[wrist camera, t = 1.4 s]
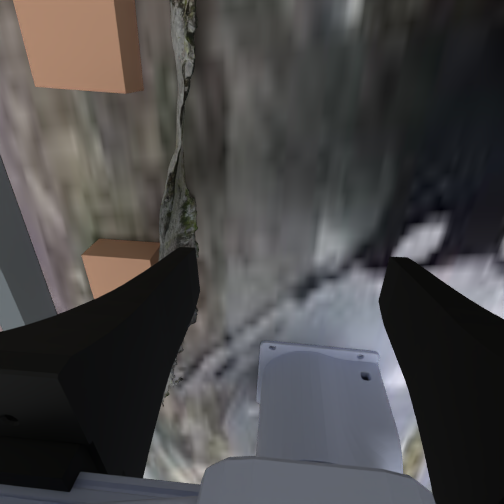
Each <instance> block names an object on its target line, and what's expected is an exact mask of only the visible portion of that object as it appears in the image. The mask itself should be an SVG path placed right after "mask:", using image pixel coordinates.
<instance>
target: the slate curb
mask: <svg viewBox="0 0 504 504" xmlns="http://www.w3.org/2000/svg"><path fill="white" fill-rule="evenodd" d="M55 315H57V313H56V310H55V307H54V304H53V302H52V299H51V296H50V293H49V290H48V288H47V285H46V282H45V279H44V277H43V274H42V271H41V268H40V265H39V263H38V260H37V257H36V254H35V251H34V249H33V246H32V243H31V240H30V238H29V235H28V232H27V229H26V226H25V224H24V221H23V218H22V215H21V212H20V210H19V207H18V204H17V201H16V199H15V196H14V193H13V190H12V187H11V185H10V182H9V179H8V176H7V173H6V171H5V168H4V165H3V162H2V160H1V157H0V325H1V327H2V329H3V331H6V330H9V329H13V328H17V327H21V326H24V325H27V324H31V323H34V322H37V321H40V320H43V319H46V318H49V317H52V316H55Z"/></svg>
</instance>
